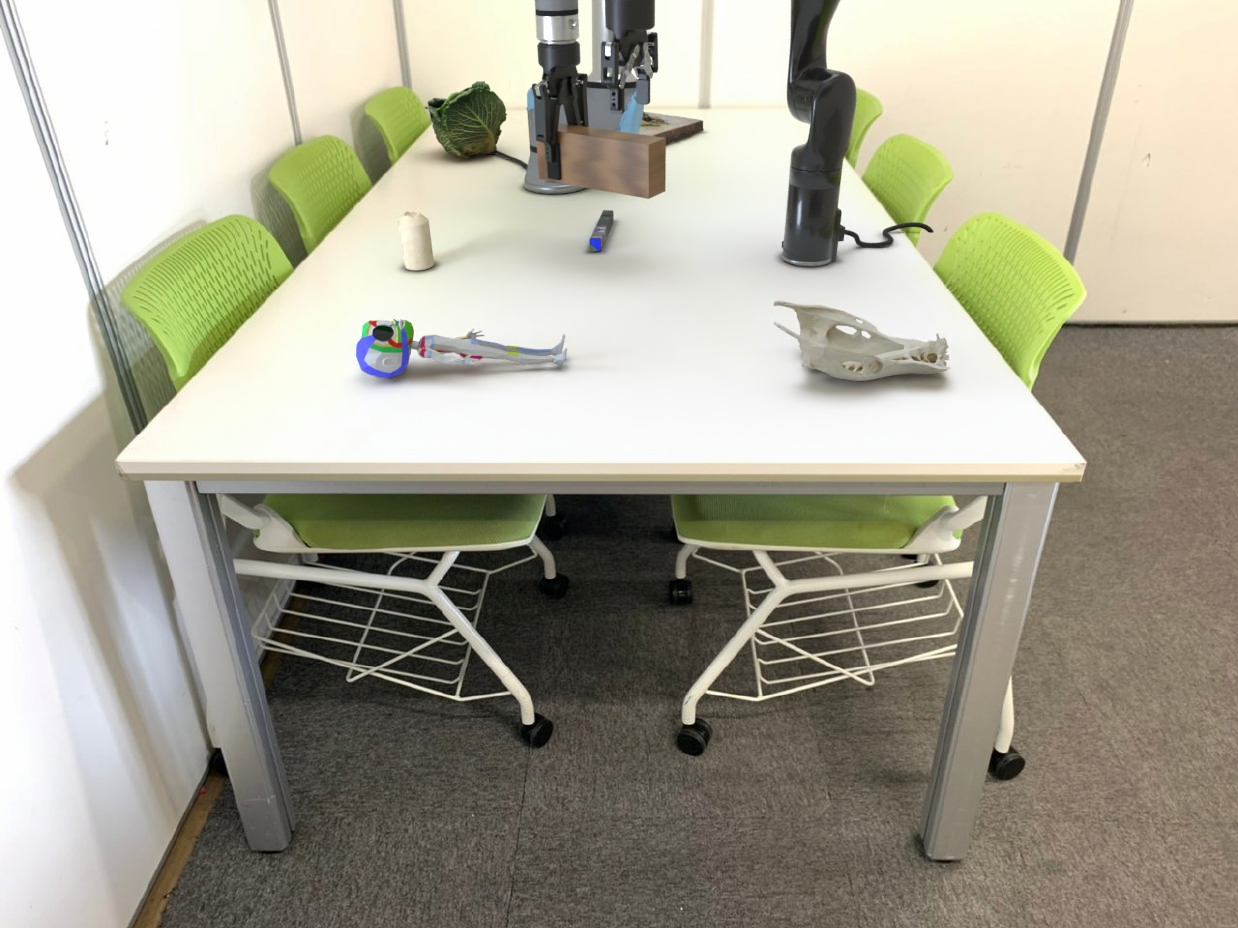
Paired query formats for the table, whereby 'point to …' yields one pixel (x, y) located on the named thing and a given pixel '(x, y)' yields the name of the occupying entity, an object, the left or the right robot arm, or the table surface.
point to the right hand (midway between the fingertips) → (630, 108)
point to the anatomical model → (860, 346)
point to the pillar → (601, 230)
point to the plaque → (669, 126)
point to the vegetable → (468, 120)
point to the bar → (609, 160)
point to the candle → (416, 241)
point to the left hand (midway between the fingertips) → (564, 174)
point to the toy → (435, 349)
